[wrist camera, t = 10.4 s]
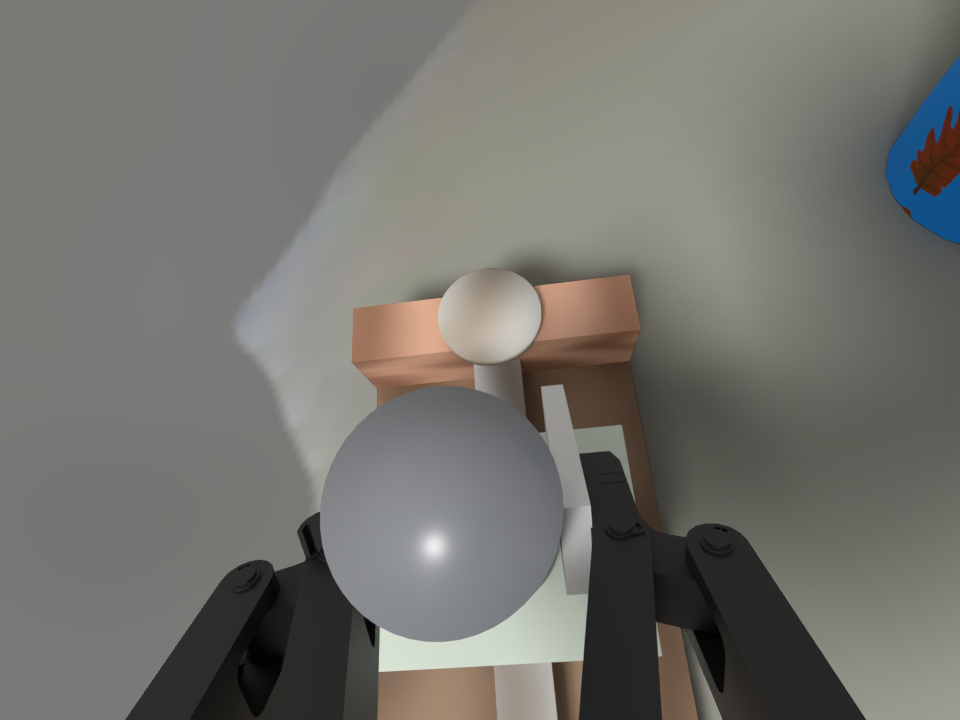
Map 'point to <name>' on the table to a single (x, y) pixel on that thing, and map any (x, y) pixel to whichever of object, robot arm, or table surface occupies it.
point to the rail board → (518, 380)
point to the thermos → (931, 160)
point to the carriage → (456, 532)
